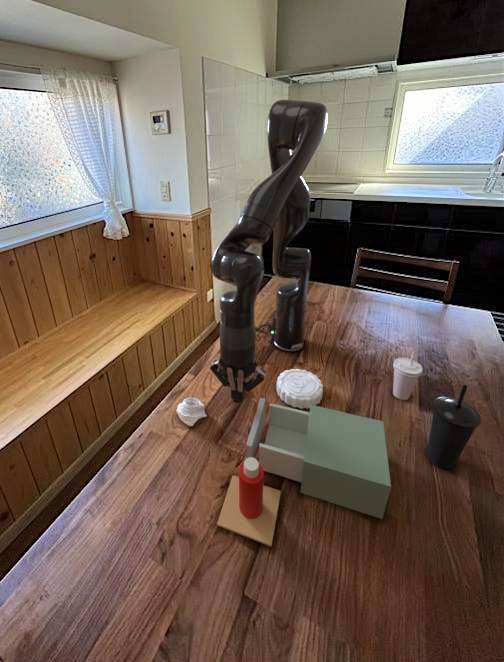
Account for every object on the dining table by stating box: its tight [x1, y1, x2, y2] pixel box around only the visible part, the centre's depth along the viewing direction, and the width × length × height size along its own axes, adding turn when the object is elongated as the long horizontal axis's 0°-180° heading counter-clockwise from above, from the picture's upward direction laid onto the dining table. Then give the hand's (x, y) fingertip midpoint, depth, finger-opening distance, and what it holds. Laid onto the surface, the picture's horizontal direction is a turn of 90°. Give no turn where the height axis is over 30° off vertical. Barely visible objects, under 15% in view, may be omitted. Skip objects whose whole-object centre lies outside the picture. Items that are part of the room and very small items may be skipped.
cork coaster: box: [216, 474, 282, 548], centre depth 64 cm, size 10×10×1 cm
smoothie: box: [392, 350, 424, 401], centre depth 85 cm, size 6×6×14 cm
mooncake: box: [276, 368, 324, 410], centre depth 90 cm, size 12×12×4 cm
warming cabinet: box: [300, 405, 392, 520], centre depth 68 cm, size 15×15×9 cm
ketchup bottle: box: [238, 457, 265, 519], centre depth 61 cm, size 4×4×12 cm
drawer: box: [245, 397, 310, 483], centre depth 72 cm, size 15×13×7 cm
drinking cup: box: [426, 384, 482, 470], centre depth 67 cm, size 8×8×20 cm
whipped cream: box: [176, 397, 208, 427], centre depth 85 cm, size 8×7×5 cm
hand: (237, 400), depth 78 cm, fingers closed
